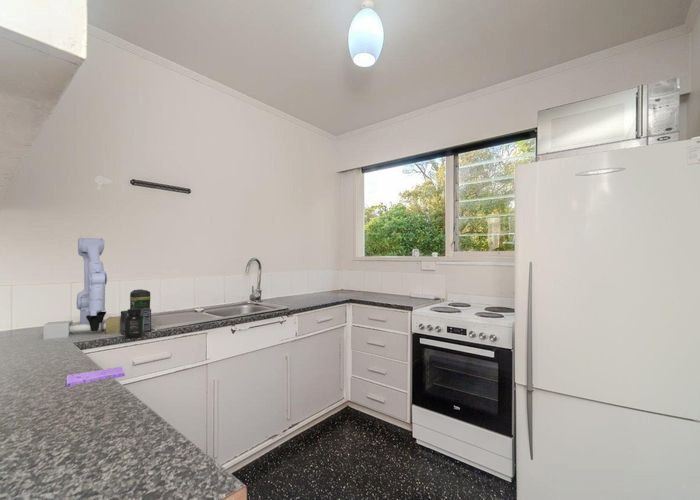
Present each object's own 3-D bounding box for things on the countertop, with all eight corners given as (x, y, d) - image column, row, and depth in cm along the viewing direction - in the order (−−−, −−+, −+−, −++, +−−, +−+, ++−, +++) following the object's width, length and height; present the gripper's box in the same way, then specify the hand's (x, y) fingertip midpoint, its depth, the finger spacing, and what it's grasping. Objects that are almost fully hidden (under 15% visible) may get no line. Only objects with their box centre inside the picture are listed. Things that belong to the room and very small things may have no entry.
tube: (61, 335, 137) (61, 325, 137) (63, 333, 141) (64, 324, 141) (112, 330, 146) (113, 321, 146) (114, 329, 150) (114, 320, 150)
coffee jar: (152, 327, 158) (152, 289, 159) (133, 329, 152) (134, 290, 153) (145, 324, 165) (146, 288, 165) (127, 327, 159) (127, 289, 159)
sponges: (66, 381, 88) (67, 375, 88) (122, 371, 96) (122, 365, 96) (66, 389, 83) (66, 382, 83) (125, 378, 91) (125, 371, 91)
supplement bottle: (147, 335, 141) (147, 307, 142) (135, 338, 135) (136, 310, 135) (132, 334, 142) (133, 307, 142) (120, 338, 135) (120, 310, 136)
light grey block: (43, 339, 133) (43, 324, 134) (48, 336, 139) (48, 322, 139) (68, 337, 137) (68, 322, 138) (72, 334, 143) (72, 320, 143)
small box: (145, 329, 152) (146, 307, 153) (151, 331, 148) (152, 308, 149) (119, 334, 144) (120, 310, 144) (125, 336, 140) (126, 311, 140)
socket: (105, 334, 143) (106, 319, 144) (108, 331, 150) (108, 317, 150) (119, 332, 146) (119, 318, 146) (121, 329, 152) (121, 316, 152)
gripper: (89, 298, 149) (88, 327, 149) (81, 301, 137) (81, 333, 136) (108, 297, 153) (107, 325, 152) (102, 300, 140) (101, 331, 140)
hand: (96, 329), depth 145 cm, fingers open, 7 cm apart
